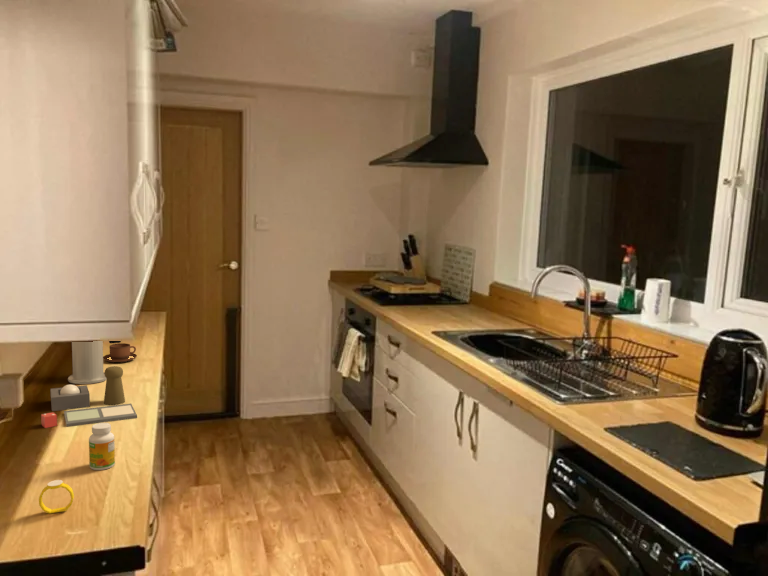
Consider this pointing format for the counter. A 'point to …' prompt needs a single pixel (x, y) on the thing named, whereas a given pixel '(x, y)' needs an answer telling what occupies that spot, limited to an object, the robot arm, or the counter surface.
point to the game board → (99, 414)
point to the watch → (55, 485)
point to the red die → (49, 420)
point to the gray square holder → (70, 399)
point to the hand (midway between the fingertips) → (113, 339)
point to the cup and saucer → (120, 353)
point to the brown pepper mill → (114, 386)
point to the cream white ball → (69, 389)
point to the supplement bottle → (101, 447)
